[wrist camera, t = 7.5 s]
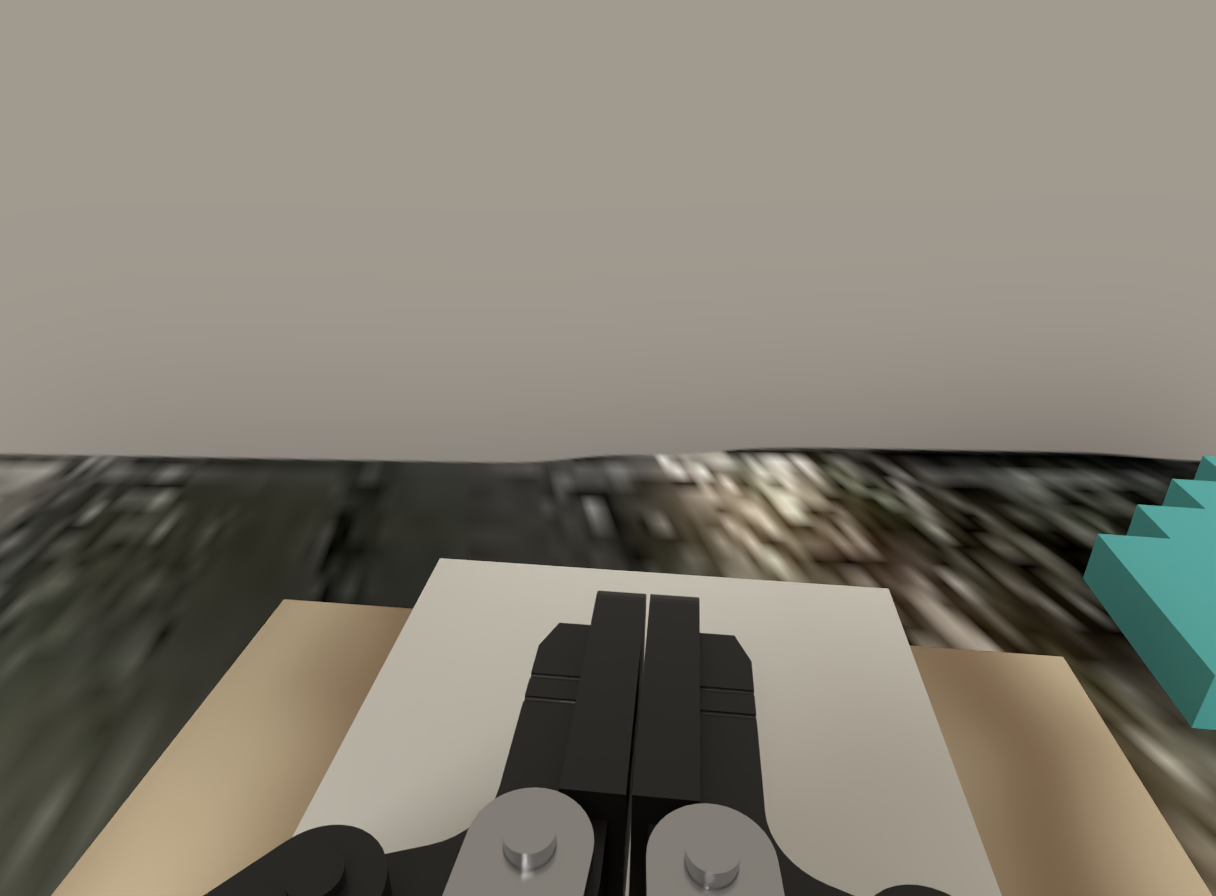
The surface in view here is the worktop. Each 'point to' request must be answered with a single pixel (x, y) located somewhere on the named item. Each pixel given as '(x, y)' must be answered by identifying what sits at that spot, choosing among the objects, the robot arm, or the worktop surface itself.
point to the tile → (548, 595)
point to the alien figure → (1168, 590)
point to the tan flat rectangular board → (364, 636)
